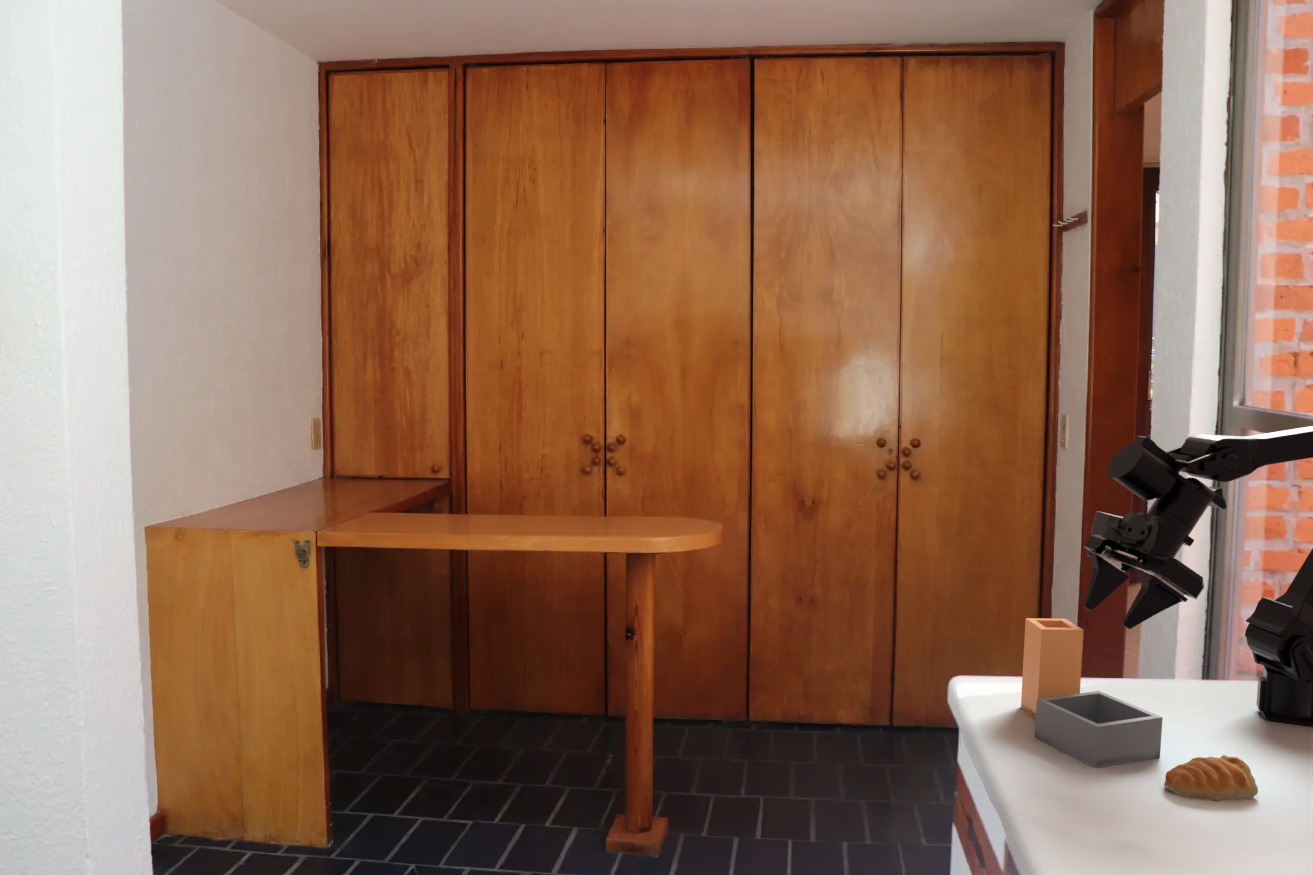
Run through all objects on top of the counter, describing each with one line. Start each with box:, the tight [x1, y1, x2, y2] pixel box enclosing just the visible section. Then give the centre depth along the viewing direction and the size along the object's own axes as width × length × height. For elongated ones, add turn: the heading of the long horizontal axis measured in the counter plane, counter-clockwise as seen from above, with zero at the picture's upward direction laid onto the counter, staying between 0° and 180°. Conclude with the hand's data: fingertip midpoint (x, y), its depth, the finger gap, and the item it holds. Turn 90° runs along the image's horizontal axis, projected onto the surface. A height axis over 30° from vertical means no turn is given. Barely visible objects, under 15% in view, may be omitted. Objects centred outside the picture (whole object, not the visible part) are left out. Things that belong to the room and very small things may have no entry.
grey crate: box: [1034, 690, 1163, 769], centre depth 130 cm, size 10×10×5 cm
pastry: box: [1163, 754, 1259, 802], centre depth 118 cm, size 9×7×4 cm
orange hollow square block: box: [1020, 617, 1085, 721], centre depth 141 cm, size 6×6×12 cm
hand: (1106, 617), depth 138 cm, fingers open, 9 cm apart
